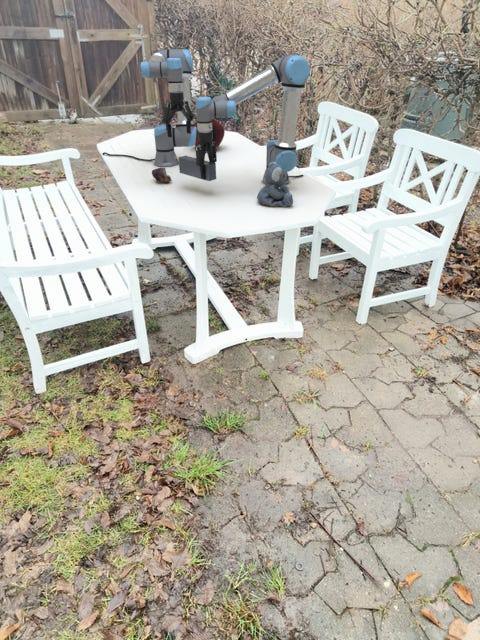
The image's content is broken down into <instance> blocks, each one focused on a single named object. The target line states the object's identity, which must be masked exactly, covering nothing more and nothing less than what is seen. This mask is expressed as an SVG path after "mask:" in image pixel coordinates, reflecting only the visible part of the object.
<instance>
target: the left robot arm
mask: <svg viewBox="0 0 480 640" xmlns="http://www.w3.org/2000/svg"><path fill="white" fill-rule="evenodd" d="M139 66H140V74H141V77H142V78H143V79H159V78H160V79H165V78H166V79H167V84H168V85H167V86H168V92H169V93H168V95H169V97H168V98H169V102H170V103H167V102H166V103H165V109H164V113H163V117H162V121H161V122H162V125H158V126H156V127H155V128H154V129H153V136H154V145H155V155H154V158H152V159H151V158H150V159H146V158H141V157H137V156H134V155H129V154H117V153H116V154H115V153H114V154H112V153H111V154H110V153H109V152H105V151H104V152H103V153H102V156H104V155H107V156H109V157H110V156H111V157H128V158H131V159H132V158H133V159H135V160H137V161H142V162H153V161H154V165H155V166H157V167H162V168H167V167H168V168H169V167H174V166H177V165H179V158H178V157H177V153H176V151H175V148H189V147H195V143H196V130H197V128H196V127H194V124H195V123H194V122H193V120H194V119H195V117H194V115H193V112H192V103H191V88H190V86H191V85H190V78H191V76H192V72H194V64H193V56H192V52H191V51H190V49H187V48H186V49H185V48H184V49H183V48H178V49H177V48H176V49H161V50H158V51H156V52H154V53H152V54H151V55H150V57H149V60H148V61H141V63H140V65H139ZM176 113H177V114H176ZM175 114H176V117H177V121H176V123H175V126H173V125H172V124H171V121H172V119H173V117H174V115H175Z"/></svg>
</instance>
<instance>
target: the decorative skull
mask: <svg viewBox="0 0 480 640" xmlns="http://www.w3.org/2000/svg"><path fill="white" fill-rule="evenodd" d="M194 127H196V128H197V121H196V122H195V123H194ZM198 132H199V131H197V130H196V143H195V145H194V147H195V146H198V145H199V140H198ZM212 132H213V139H212V142H216V143H217V144H216V149H217V148H218V147H219V146H220V145H221V144H222V141H223V140H224V137H225V128H224V126H223V125H222V124H221V123H220V122H219V121H217V120H216V118H212Z"/></svg>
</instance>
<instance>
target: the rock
mask: <svg viewBox="0 0 480 640" xmlns="http://www.w3.org/2000/svg"><path fill="white" fill-rule="evenodd" d="M151 175H152V177H153V179H154V180H155V181H156V182H157V183H170V182H172V177H171V176H170V175H168V174H167V170H166V167H161V166H159V167H157V168H154V169H152V170H151Z"/></svg>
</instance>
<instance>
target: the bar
mask: <svg viewBox="0 0 480 640" xmlns="http://www.w3.org/2000/svg"><path fill="white" fill-rule="evenodd" d="M177 159H178V171H179V174H183V175H186V176H190V177H193V178H197V179H200V180H203V181H207V182H212V181H215V180H217V162H215V163H213V162H209V160H204V167H205V176H206V179H205V180H204V179H201V173H200V167H199V166H197V165H196V157H193V156H189V155H182V156H179V157H177Z"/></svg>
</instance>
